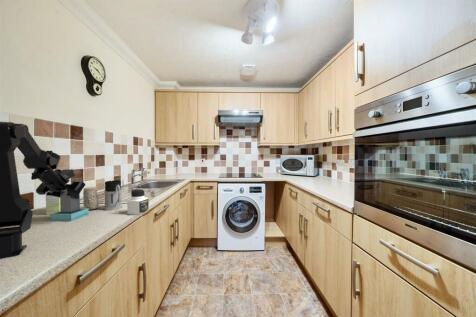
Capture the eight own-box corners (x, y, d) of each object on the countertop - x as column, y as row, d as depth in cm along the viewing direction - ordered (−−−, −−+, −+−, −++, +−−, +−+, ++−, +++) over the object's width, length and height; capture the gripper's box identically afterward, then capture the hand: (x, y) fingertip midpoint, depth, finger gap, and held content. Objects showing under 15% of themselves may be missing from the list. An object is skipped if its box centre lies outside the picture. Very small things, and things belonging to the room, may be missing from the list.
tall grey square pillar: (70, 215, 92) (70, 187, 91) (60, 215, 92) (59, 187, 92) (80, 212, 97) (79, 185, 96) (70, 212, 97) (69, 185, 97)
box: (57, 209, 108) (56, 187, 108) (70, 208, 110) (69, 187, 110) (45, 215, 98) (44, 191, 98) (59, 214, 100) (59, 190, 100)
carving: (92, 207, 112) (91, 186, 112) (101, 208, 110) (101, 187, 110) (80, 210, 106) (79, 188, 106) (89, 211, 104) (89, 188, 104)
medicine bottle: (139, 215, 98) (139, 190, 98) (127, 214, 100) (126, 190, 100) (148, 211, 105) (148, 188, 105) (137, 210, 107) (136, 188, 107)
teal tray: (71, 221, 89) (71, 214, 89) (50, 220, 90) (50, 214, 90) (88, 214, 99) (88, 208, 99) (69, 214, 99) (69, 208, 99)
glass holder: (119, 205, 117) (118, 179, 117) (128, 209, 108) (128, 182, 107) (101, 208, 110) (101, 181, 110) (110, 213, 101) (109, 183, 101)
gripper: (81, 163, 89) (100, 184, 101) (42, 163, 90) (64, 184, 101) (66, 183, 82) (88, 203, 93) (22, 183, 82) (49, 203, 94)
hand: (72, 198), depth 95 cm, fingers open, 5 cm apart
